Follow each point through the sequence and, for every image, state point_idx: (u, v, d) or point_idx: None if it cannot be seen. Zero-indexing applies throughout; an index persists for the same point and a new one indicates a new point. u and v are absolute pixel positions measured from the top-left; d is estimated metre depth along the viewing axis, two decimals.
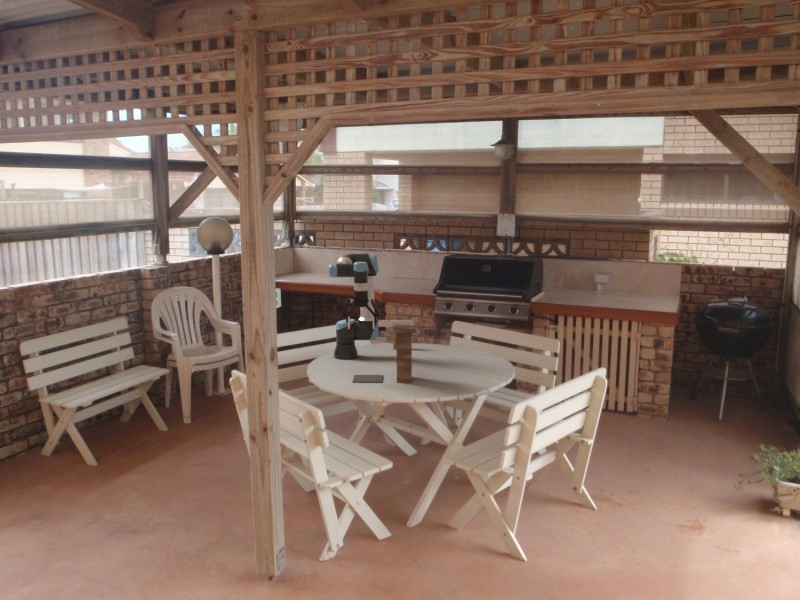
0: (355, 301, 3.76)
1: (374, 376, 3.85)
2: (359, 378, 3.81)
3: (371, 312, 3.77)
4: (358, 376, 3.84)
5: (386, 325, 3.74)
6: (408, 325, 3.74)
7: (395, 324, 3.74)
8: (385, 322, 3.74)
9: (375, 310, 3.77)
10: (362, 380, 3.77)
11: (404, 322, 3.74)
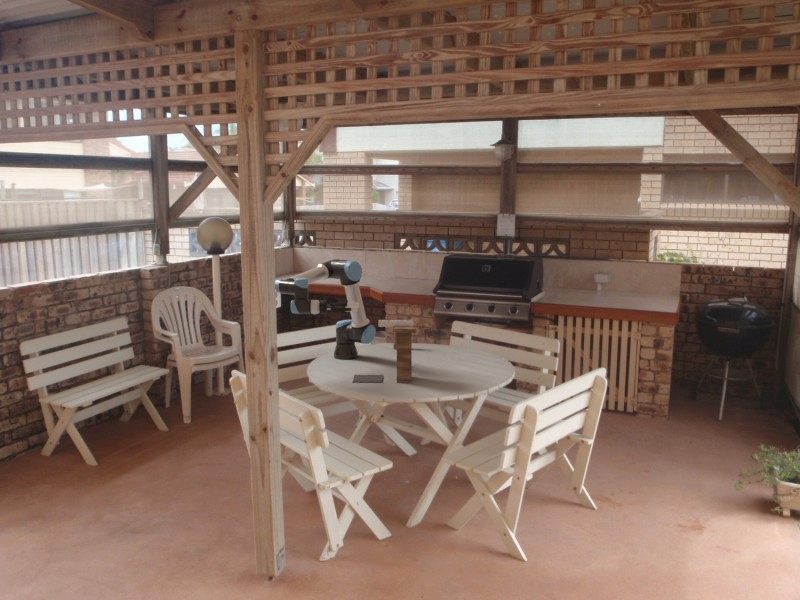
0: None
1: (374, 376, 3.85)
2: (359, 378, 3.81)
3: None
4: (358, 376, 3.84)
5: (386, 325, 3.74)
6: (408, 325, 3.74)
7: (395, 324, 3.74)
8: (385, 322, 3.74)
9: (338, 311, 3.70)
10: (362, 380, 3.77)
11: (404, 322, 3.74)
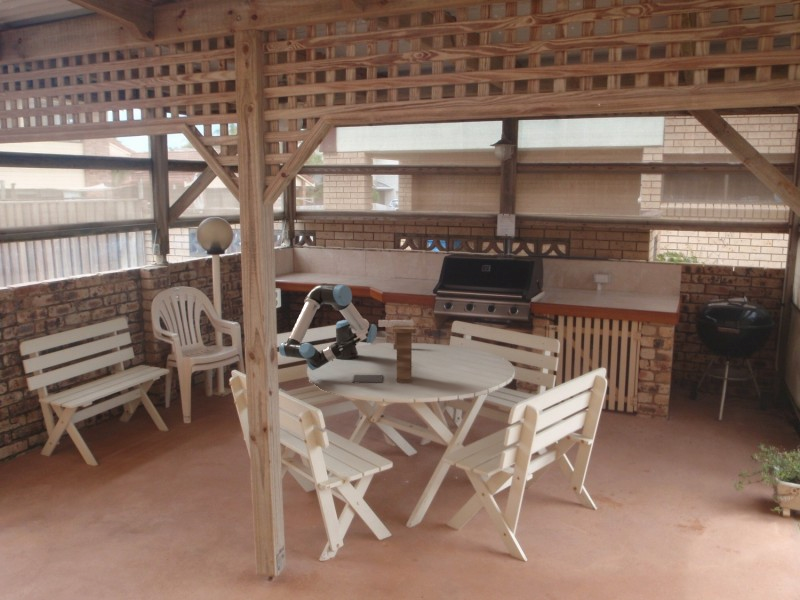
0: None
1: (374, 376, 3.85)
2: (359, 378, 3.81)
3: (352, 345, 3.72)
4: (358, 376, 3.84)
5: (386, 325, 3.74)
6: (408, 325, 3.74)
7: (395, 324, 3.74)
8: (385, 322, 3.74)
9: (350, 347, 3.70)
10: (362, 380, 3.77)
11: (404, 322, 3.74)
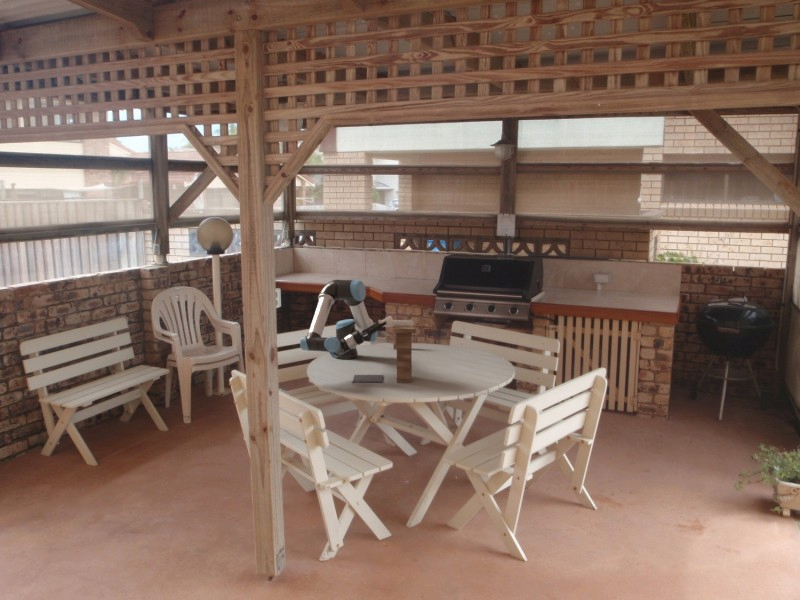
0: None
1: (374, 376, 3.85)
2: (359, 378, 3.81)
3: None
4: (358, 376, 3.84)
5: (386, 325, 3.74)
6: (408, 325, 3.74)
7: (395, 324, 3.74)
8: None
9: (375, 331, 3.72)
10: (362, 380, 3.77)
11: (404, 322, 3.74)
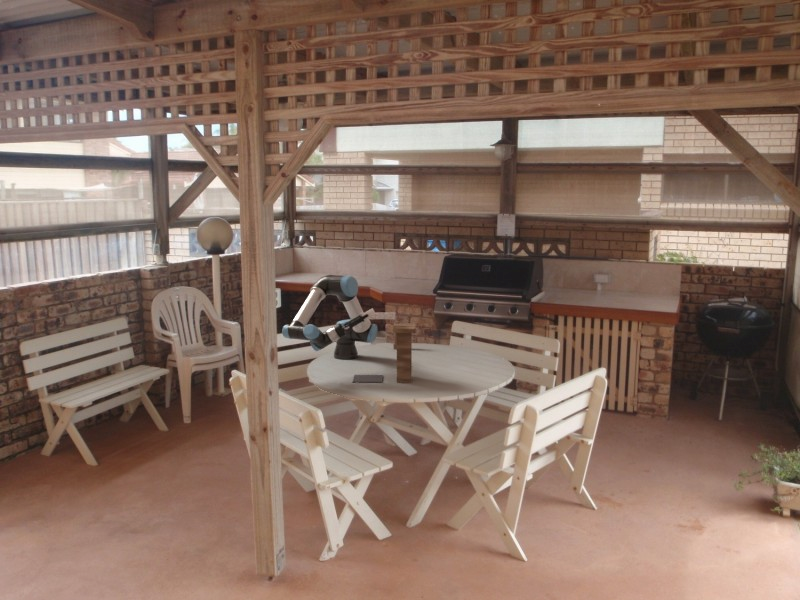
0: None
1: (374, 376, 3.85)
2: (359, 378, 3.81)
3: None
4: (358, 376, 3.84)
5: (368, 318, 3.74)
6: (390, 317, 3.73)
7: (377, 317, 3.73)
8: None
9: (357, 324, 3.71)
10: (362, 380, 3.77)
11: (386, 314, 3.73)
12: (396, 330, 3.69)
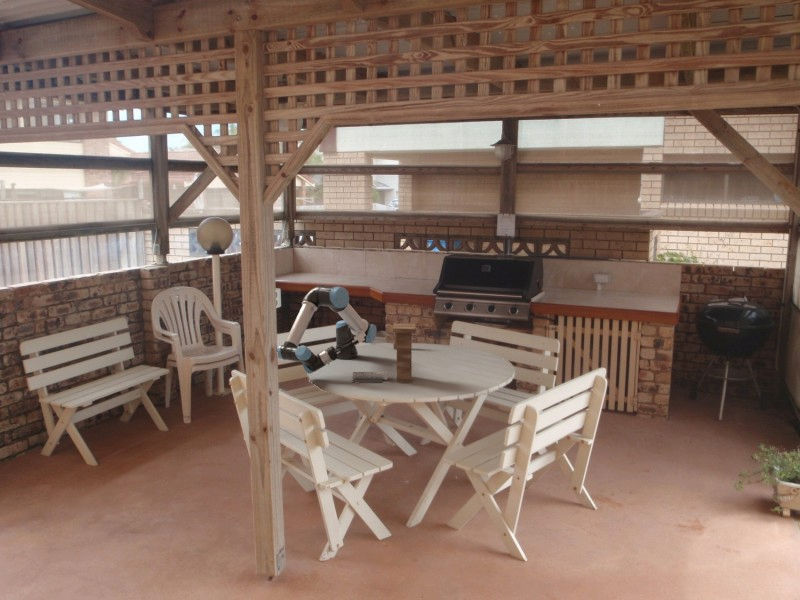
0: None
1: None
2: None
3: None
4: None
5: (360, 377, 3.79)
6: (382, 377, 3.79)
7: (370, 377, 3.79)
8: (359, 374, 3.79)
9: (347, 349, 3.72)
10: (362, 380, 3.77)
11: (378, 374, 3.79)
12: (396, 330, 3.69)
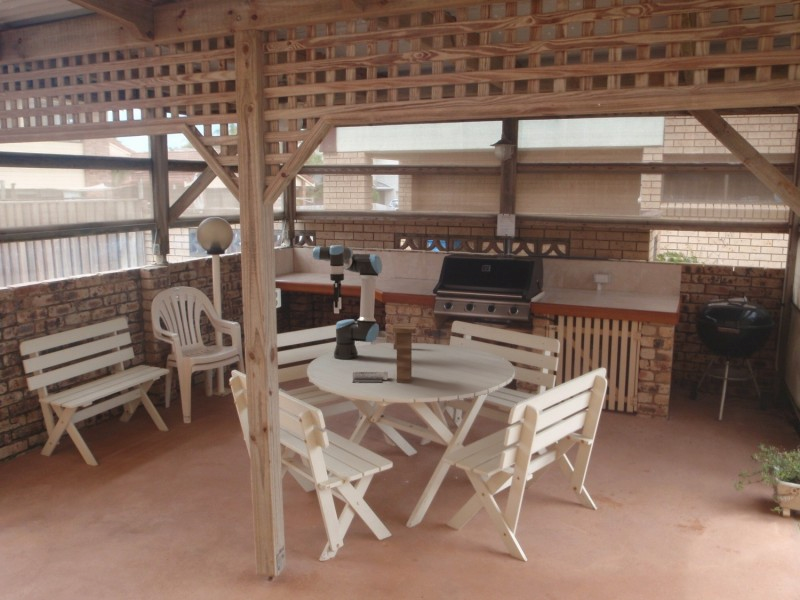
0: (338, 284, 3.79)
1: None
2: None
3: (340, 293, 3.88)
4: None
5: (360, 377, 3.79)
6: (382, 377, 3.79)
7: (370, 377, 3.79)
8: (359, 374, 3.79)
9: None
10: (362, 380, 3.77)
11: (378, 374, 3.79)
12: (396, 330, 3.69)
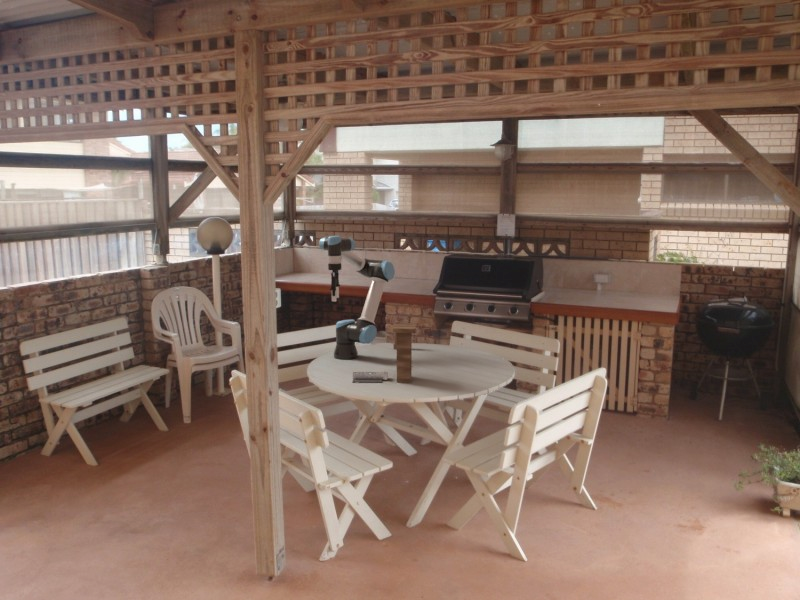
0: (336, 274, 3.93)
1: None
2: None
3: (338, 282, 4.03)
4: None
5: (360, 377, 3.79)
6: (382, 377, 3.79)
7: (370, 377, 3.79)
8: (359, 374, 3.79)
9: (338, 280, 4.05)
10: (362, 380, 3.77)
11: (378, 374, 3.79)
12: (396, 330, 3.69)
